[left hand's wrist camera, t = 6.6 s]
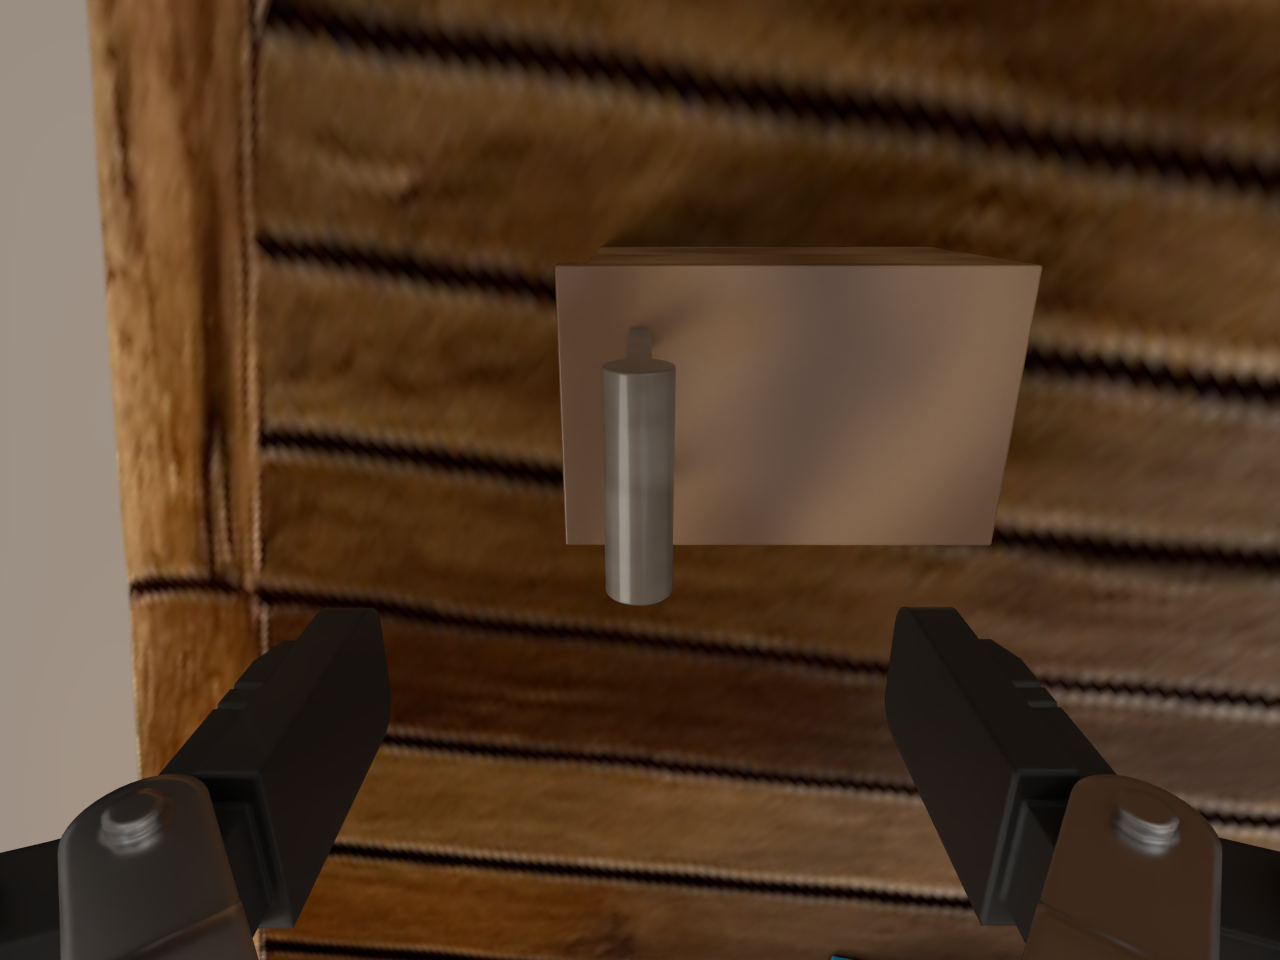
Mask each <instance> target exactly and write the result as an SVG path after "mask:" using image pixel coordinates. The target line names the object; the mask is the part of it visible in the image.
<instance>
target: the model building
mask: <svg viewBox="0 0 1280 960" xmlns="http://www.w3.org/2000/svg"><path fill="white" fill-rule="evenodd" d="M831 960H851V959H846V958H840V957H835V956H832V958H831Z"/></svg>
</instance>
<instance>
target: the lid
mask: <svg viewBox="0 0 1280 960" xmlns="http://www.w3.org/2000/svg"><path fill="white" fill-rule="evenodd" d="M1041 272H1042V266H1041V265H1037V264H1031V263H559V264H557V265H556V266H555V284H556V309H557V335H558V360H559V386H560V411H561V437H562V462H563V488H564V513H565V539H566V544H567V545H605V575H606V592H607V593H608V595H609V596H610V597H611V598H612V599H614V600H615V601H618V602H620V603H624V604H628V605H650V604H654V603H658V602H660V601H662V600H664V599H666V598H667V597H668V596H669V595H670V593H671V591H672V571H673V545H991V541H992V536H993V530H994V525H995V520H996V514H997V509H998V504H999V498H1000V493H1001V487H1002V482H1003V477H1004V471H1005V466H1006V461H1007V455H1008V450H1009V444H1010V439H1011V434H1012V428H1013V423H1014V418H1015V412H1016V407H1017V401H1018V396H1019V391H1020V385H1021V380H1022V375H1023V369H1024V364H1025V358H1026V353H1027V348H1028V342H1029V337H1030V332H1031V326H1032V321H1033V315H1034V310H1035V305H1036V299H1037V294H1038V289H1039V283H1040V278H1041Z"/></svg>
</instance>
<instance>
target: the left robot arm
mask: <svg viewBox="0 0 1280 960" xmlns="http://www.w3.org/2000/svg"><path fill="white" fill-rule="evenodd" d="M885 707H886V716H887V721H888V725H889V729H890V732H891V734H892V737H893V739H894V741H895V743H896V745H897V747H898V749H899V751H900V754H901V756H902V758H903V760H904V762H905V764H906V766H907V768H908V771H909V773H910V775H911V777H912V779H913V781H914V783H915V785H916V788H917V790H918V792H919V794H920V796H921V798H922V800H923V802H924V805H925V807H926V809H927V811H928V813H929V815H930V817H931V819H932V822H933V824H934V826H935V828H936V830H937V832H938V834H939V837H940V839H941V841H942V843H943V845H944V847H945V849H946V851H947V854H948V856H949V858H950V860H951V862H952V864H953V866H954V868H955V871H956V873H957V875H958V877H959V879H960V881H961V883H962V885H963V888H964V890H965V892H966V894H967V896H968V898H969V900H970V902H971V905H972V907H973V909H974V911H975V913H976V915H977V917H978V919H979V922H980V924H981V925H1016V926H1017V927H1018V929H1019V931H1020V933H1021V935H1022V937H1023V939H1024V941H1025V943H1026V946H1025V949H1024V953H1023V956H1022V959H1021V960H1280V852H1279V851H1274V850H1270V849H1266V848H1261V847H1257V846H1253V845H1249V844H1244V843H1240V842H1236V841H1231V840H1227V839H1223V838H1219V837H1218V835H1217V834H1216V832H1215V830H1214V829H1213V827H1212V826H1211V825H1210V824H1209V823H1208V821H1207V820H1206V819H1205V818H1204V817H1203V816H1202V815H1201V814H1200V813H1199V812H1197V811H1196V810H1195V809H1194V808H1193V807H1191V806H1190V805H1189V804H1187V803H1186V802H1185V801H1183V800H1181V799H1180V798H1178V797H1177V796H1175V795H1173V794H1171V793H1170V792H1168V791H1166V790H1164V789H1162V788H1160V787H1157V786H1155V785H1152V784H1150V783H1147V782H1144V781H1141V780H1138V779H1135V778H1131V777H1126V776H1120V775H1117V774H1116V773H1115V772H1114V771H1113V770H1112V768H1111V767H1110V766H1109V765H1108V764H1107V762H1106V761H1105V760H1104V759H1103V758H1102V756H1101V755H1100V754H1099V753H1098V751H1097V750H1096V749H1095V748H1094V747H1093V745H1092V744H1091V743H1090V742H1089V741H1088V739H1087V738H1086V737H1085V736H1084V735H1083V733H1082V732H1081V731H1080V730H1079V729H1078V727H1077V726H1076V725H1075V724H1074V723H1073V721H1072V720H1071V719H1070V718H1069V716H1068V715H1067V714H1066V713H1065V712H1064V710H1063V709H1062V708H1058V707H1057V702H1056V701H1055V700H1054V698H1053V697H1052V696H1051V695H1050V694H1049V692H1048V691H1047V690H1046V689H1045V688H1041V683H1040V681H1039V680H1038V679H1037V678H1036V677H1035V675H1034V674H1033V673H1032V672H1031V671H1030V669H1029V668H1028V667H1027V666H1026V665H1025V663H1024V662H1023V661H1022V660H1021V659H1020V658H1018V657H1017V656H1015V655H1014V654H1012V653H1011V652H1009V651H1008V650H1006V649H1005V648H1003V647H1002V646H1000V645H999V644H997V643H996V642H994V641H993V640H991V639H978V637H977V636H976V635H975V633H974V632H973V631H972V630H971V628H970V627H969V626H968V624H967V623H966V622H965V621H964V619H963V618H962V617H961V615H960V614H959V613H958V611H957V610H956V609H954V608H953V607H902V608H901V609H900V610H899V611H898V614H897V617H896V621H895V627H894V635H893V642H892V649H891V656H890V663H889V670H888V677H887V684H886V692H885ZM390 712H391V691H390V684H389V677H388V670H387V663H386V656H385V649H384V642H383V635H382V628H381V622H380V618H379V615H378V612H377V611H376V610H375V609H374V608H324V609H322V610H320V611H319V612H318V614H317V615H316V616H315V617H314V619H313V620H312V621H311V623H310V624H309V625H308V626H307V628H306V629H305V630H304V632H303V633H302V634H301V635H300V637H299V638H298V639H297V641H284V642H282V643H281V644H279V645H278V646H276V647H274V648H273V649H271V650H270V651H268V652H267V653H265V654H264V655H262V656H261V657H259V658H258V659H256V660H255V661H254V662H253V663H252V664H251V665H250V666H249V668H248V669H247V670H246V671H245V672H244V674H243V675H242V676H241V677H240V678H239V680H238V681H237V682H236V683H235V684H234V689H230V690H229V692H228V693H227V694H226V695H225V696H224V697H223V699H222V700H221V701H220V702H219V703H218V708H217V709H213V711H212V712H211V713H210V714H209V715H208V717H207V718H206V719H205V720H204V721H203V723H202V724H201V725H200V726H199V727H198V729H197V730H196V731H195V732H194V733H193V735H192V736H191V737H190V738H189V739H188V741H187V742H186V743H185V744H184V745H183V747H182V748H181V749H180V750H179V751H178V753H177V754H176V755H175V756H174V757H173V758H172V760H171V761H170V762H169V763H168V764H167V766H166V767H165V768H164V769H163V770H162V772H161V773H160V774H159V775H158V776H154V777H149V778H145V779H142V780H139V781H136V782H133V783H130V784H128V785H125V786H123V787H120V788H118V789H116V790H114V791H112V792H111V793H109V794H107V795H105V796H104V797H102V798H100V799H99V800H97V801H96V802H94V803H93V804H91V805H90V806H89V807H87V808H86V809H85V810H84V811H83V812H81V813H80V814H79V815H78V816H77V817H76V818H75V819H74V820H73V821H72V823H71V824H70V825H69V826H68V827H67V829H66V830H65V832H64V834H63V835H62V837H61V839H57V840H53V841H50V842H45V843H41V844H37V845H33V846H28V847H24V848H19V849H15V850H11V851H6V852H3V853H0V960H259V959H258V956H257V953H256V949H255V946H254V942H253V939H252V938H253V936H254V934H255V932H256V930H257V929H258V928H294V925H295V923H296V921H297V919H298V917H299V915H300V913H301V911H302V909H303V907H304V904H305V902H306V900H307V898H308V896H309V894H310V892H311V890H312V888H313V886H314V883H315V881H316V879H317V877H318V875H319V873H320V871H321V869H322V867H323V864H324V862H325V860H326V858H327V856H328V854H329V852H330V850H331V848H332V846H333V843H334V841H335V839H336V837H337V835H338V833H339V831H340V829H341V827H342V825H343V822H344V820H345V818H346V816H347V814H348V812H349V810H350V808H351V806H352V804H353V801H354V799H355V797H356V795H357V793H358V791H359V789H360V787H361V785H362V783H363V780H364V778H365V776H366V774H367V772H368V770H369V768H370V766H371V764H372V762H373V759H374V757H375V755H376V753H377V751H378V749H379V747H380V745H381V743H382V740H383V738H384V736H385V734H386V731H387V728H388V724H389V719H390Z"/></svg>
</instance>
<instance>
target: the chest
mask: <svg viewBox="0 0 1280 960" xmlns="http://www.w3.org/2000/svg"><path fill="white" fill-rule="evenodd" d="M587 263H1024V262H1018V261H1012V260H1006V259H1000V258H994V257H988V256H982V255H976V254H970V253H964V252H958V251H952V250H946V249H939V248H934V247H600V248H599V249H598V251H597V252H596V253H595V254H594V255H593V256H592V258H591V259H590V260H589V261H588V262H587Z"/></svg>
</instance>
